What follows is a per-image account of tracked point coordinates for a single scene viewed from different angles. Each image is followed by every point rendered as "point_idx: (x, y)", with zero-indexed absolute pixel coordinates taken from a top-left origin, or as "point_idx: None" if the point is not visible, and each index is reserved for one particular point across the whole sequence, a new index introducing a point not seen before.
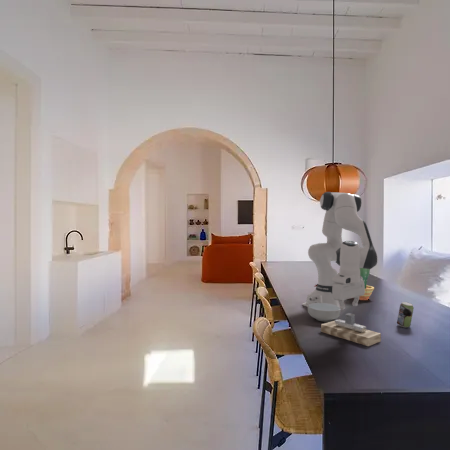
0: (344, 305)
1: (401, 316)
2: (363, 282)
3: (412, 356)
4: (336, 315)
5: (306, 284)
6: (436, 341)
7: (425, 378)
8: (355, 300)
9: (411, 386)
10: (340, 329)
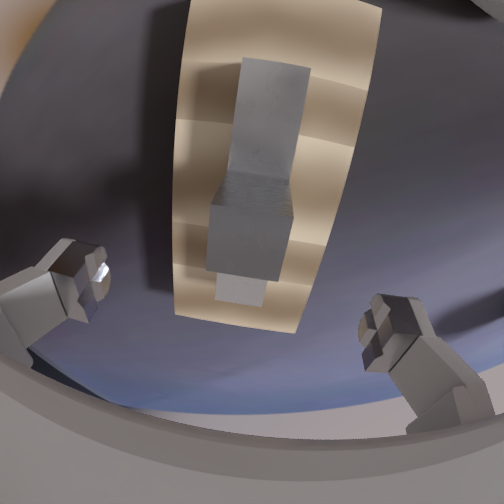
0: (71, 317)
1: None
2: None
3: (216, 382)
4: (493, 14)
5: None
6: (397, 388)
7: (122, 392)
8: (417, 375)
9: (76, 376)
10: (184, 143)
